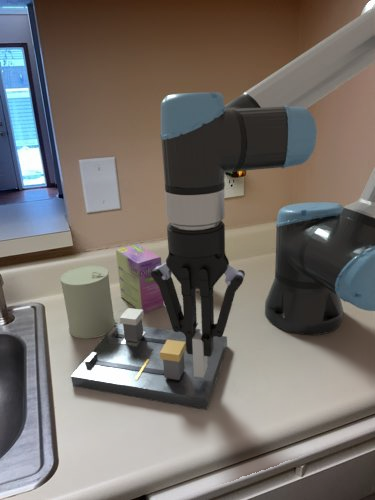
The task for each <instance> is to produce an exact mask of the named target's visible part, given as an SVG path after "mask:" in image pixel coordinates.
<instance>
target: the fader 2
mask: <svg viewBox="0 0 375 500" xmlns="http://www.w3.org/2000/svg"><path fill="white" fill-rule="evenodd" d="M185 350H186V342H182V341H174V340H167V341H166V343H165V344H164V346H163V348H162V350H161V351H160V359H163V365H164V377H165V378H169V379H175V380H180V378H181V376H182V373H183V371H184V369H185V365H184V352H185Z"/></svg>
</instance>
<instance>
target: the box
mask: <svg viewBox="0 0 375 500" xmlns="http://www.w3.org/2000/svg"><path fill="white" fill-rule="evenodd" d="M115 254H116V255H115V256H116V263H117V265H116V266H117V274H118V281H119V290H120V297H122V299H124V300H125V301H127V302H128V303H129V304H130V305H132V306H133V307H134V309H141V310H143V313H144V314H145V313H148V312H150V311H154V310H156V309H159V308H161V307H165V304H164V301H163V298H162V295H161V291H160V288H159V286H158V284H157V283H156V282H155V280H154V279H153V278H152V276H151V272H152V271H153V270H154V269H155V268H156V267H157V266H158V265H159V264H162V257H161V256H159V255H158V254H156V253H154V252H152V251H150V250H148V249H146V248H145V247H143V246H140V245H139V244H133V245H129V246H126V247H122V248H118V249H116V250H115Z"/></svg>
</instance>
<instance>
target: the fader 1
mask: <svg viewBox="0 0 375 500" xmlns="http://www.w3.org/2000/svg"><path fill="white" fill-rule="evenodd" d="M144 314H145V313H143V310H141V309H136V308H130V307H129V308H127V309H126V310H125V311H124V312H123V313H122V314H121V316H120V317H119V322H120V323H119V324H123V328H124V336H125V340H127V341H134V342H138V340H139V339H140V337H141V336H142V334H143V327H144V324H143V317H144V316H145V315H144Z"/></svg>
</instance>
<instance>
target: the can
mask: <svg viewBox="0 0 375 500" xmlns="http://www.w3.org/2000/svg"><path fill="white" fill-rule="evenodd" d="M109 277H110V276H109V270H108V269H107V268H106V267H103V266H100V265H82V266H77V267H73V268H72V269H69V270H67V271H65V272H64V273H63V274H61V275H60V279H59V280H60V281H59V282H60V283H61V290H62V294H63V299H64V303H65V310H66V315H67V321H68V322H67V323H68V332H69V334H70V335H71V336H73V337H74V338H77V339H82V340H84V339H85V340H86V339H87V340H90V339H95V338H99V337H101V336H104V335H106V334H107V333H108V332H109V331H110V330H111V328H112V327H113V326H114V325H115V324H116V319H115V316H114V310H113V304H112V295H111V287H110V286H111V284H110V280H109V279H110V278H109Z"/></svg>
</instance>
